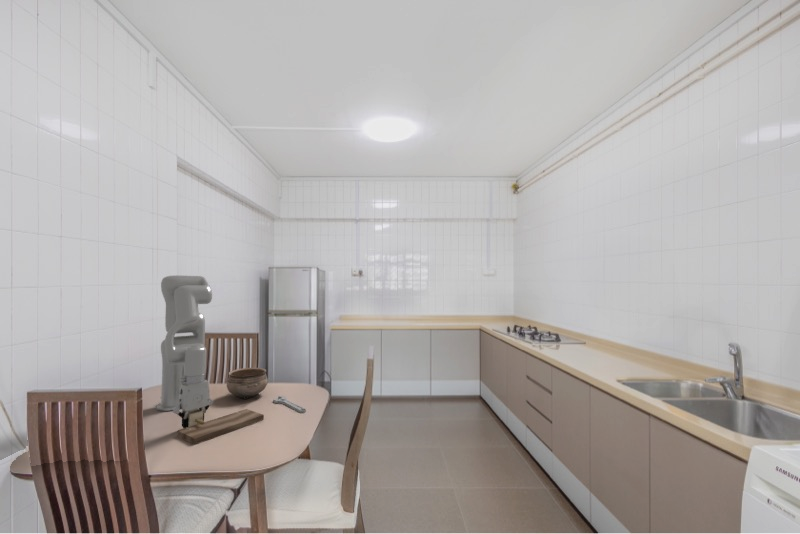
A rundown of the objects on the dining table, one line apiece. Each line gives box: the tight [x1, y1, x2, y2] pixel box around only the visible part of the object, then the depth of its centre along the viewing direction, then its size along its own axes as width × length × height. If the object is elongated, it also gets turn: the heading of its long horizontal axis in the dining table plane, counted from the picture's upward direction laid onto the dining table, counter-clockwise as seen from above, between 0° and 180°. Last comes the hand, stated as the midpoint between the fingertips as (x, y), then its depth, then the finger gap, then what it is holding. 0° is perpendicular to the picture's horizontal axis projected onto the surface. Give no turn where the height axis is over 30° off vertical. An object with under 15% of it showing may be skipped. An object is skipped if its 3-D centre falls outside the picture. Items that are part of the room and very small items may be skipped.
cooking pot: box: [226, 367, 269, 400], centre depth 179 cm, size 25×19×12 cm
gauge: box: [187, 409, 205, 427], centre depth 139 cm, size 10×5×6 cm, turn 56°
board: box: [177, 408, 265, 445], centre depth 141 cm, size 12×28×2 cm, turn 146°
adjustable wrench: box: [272, 395, 307, 414], centre depth 166 cm, size 25×6×2 cm, turn 42°
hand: (193, 425), depth 140 cm, fingers closed on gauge, 5 cm apart
